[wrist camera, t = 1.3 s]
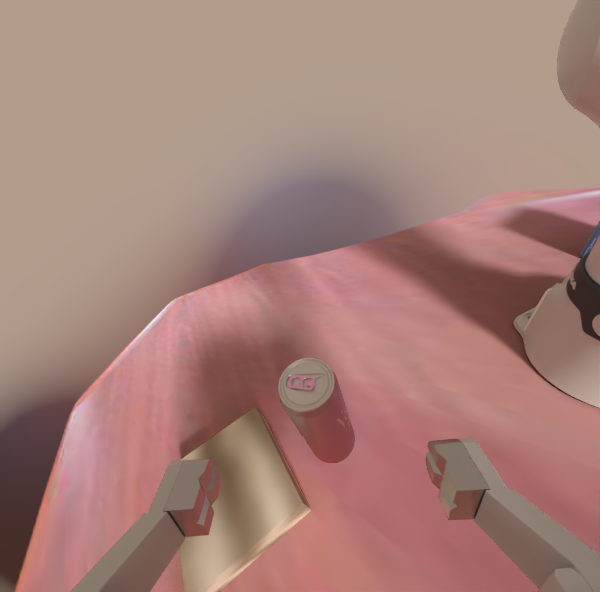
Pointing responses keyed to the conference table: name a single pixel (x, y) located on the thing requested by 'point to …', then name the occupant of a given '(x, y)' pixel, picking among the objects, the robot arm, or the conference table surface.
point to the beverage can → (317, 408)
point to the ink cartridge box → (591, 240)
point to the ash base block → (242, 504)
